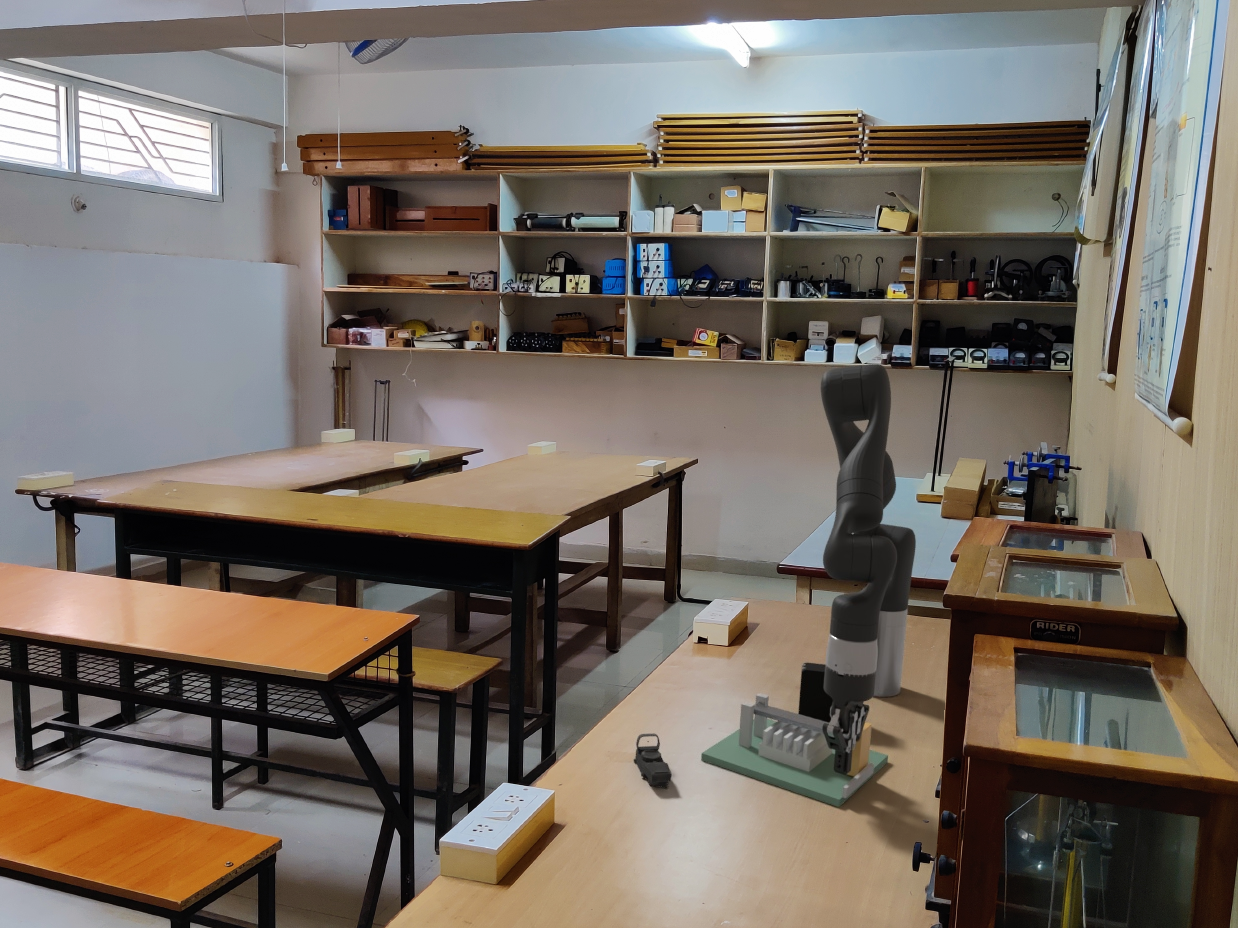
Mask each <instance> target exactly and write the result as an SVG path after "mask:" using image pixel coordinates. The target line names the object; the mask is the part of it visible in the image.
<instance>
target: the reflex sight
mask: <svg viewBox="0 0 1238 928" xmlns="http://www.w3.org/2000/svg"><path fill="white" fill-rule="evenodd" d="M644 737H648V738H649V737H656V738H657V739H656V740H657V744H656V745H651V746H650V745H647V746H646V745H645V746H639V744H640V741H641V738H644ZM660 742H661V741H660V737H659V735H658V734H657V733H655V732H654V733H641V734H639V735H638V737H637V739H636V742H635V746H636V749H635V756H634V757H635V758H633V764H636V766H637V768H638V770H639V772H640V777H641V778H642V779H643V780H647V783H648V785H650V786H652V787H656V788H664V789H668V787H669V782H672V772H671V769H670V766H669V764H668V763H667V762H665V761H664V760H663V757H662V753H661V752H660V751H659V750H660V746H661V743H660ZM647 743H649V740H647Z"/></svg>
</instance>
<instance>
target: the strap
mask: <svg viewBox="0 0 1238 928" xmlns="http://www.w3.org/2000/svg"><path fill="white" fill-rule="evenodd" d="M755 703H756V702H755ZM755 703H754V704H753V705H754V715H755V714H756V715H760V716H763V717H767V719H770V720H773V721H776V722H777V721H781V722H784V723H787V724H791V725H794V726H798V727H801V728H805V729H808V730H812V731H815V732H819V733H822V734H824V733H823V730H822V727H823V724H824V723H827V724H829V723H828V722H825V721H821V720H818V719H814V718H811V717H807V716H803V715H800V714H798V713H796V712H792V711H789V710H786V709H781V708H779V707H775V706H771V705H769V704H768V705H764V704H762V703H761V702H757V703H756V704H755Z"/></svg>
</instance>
